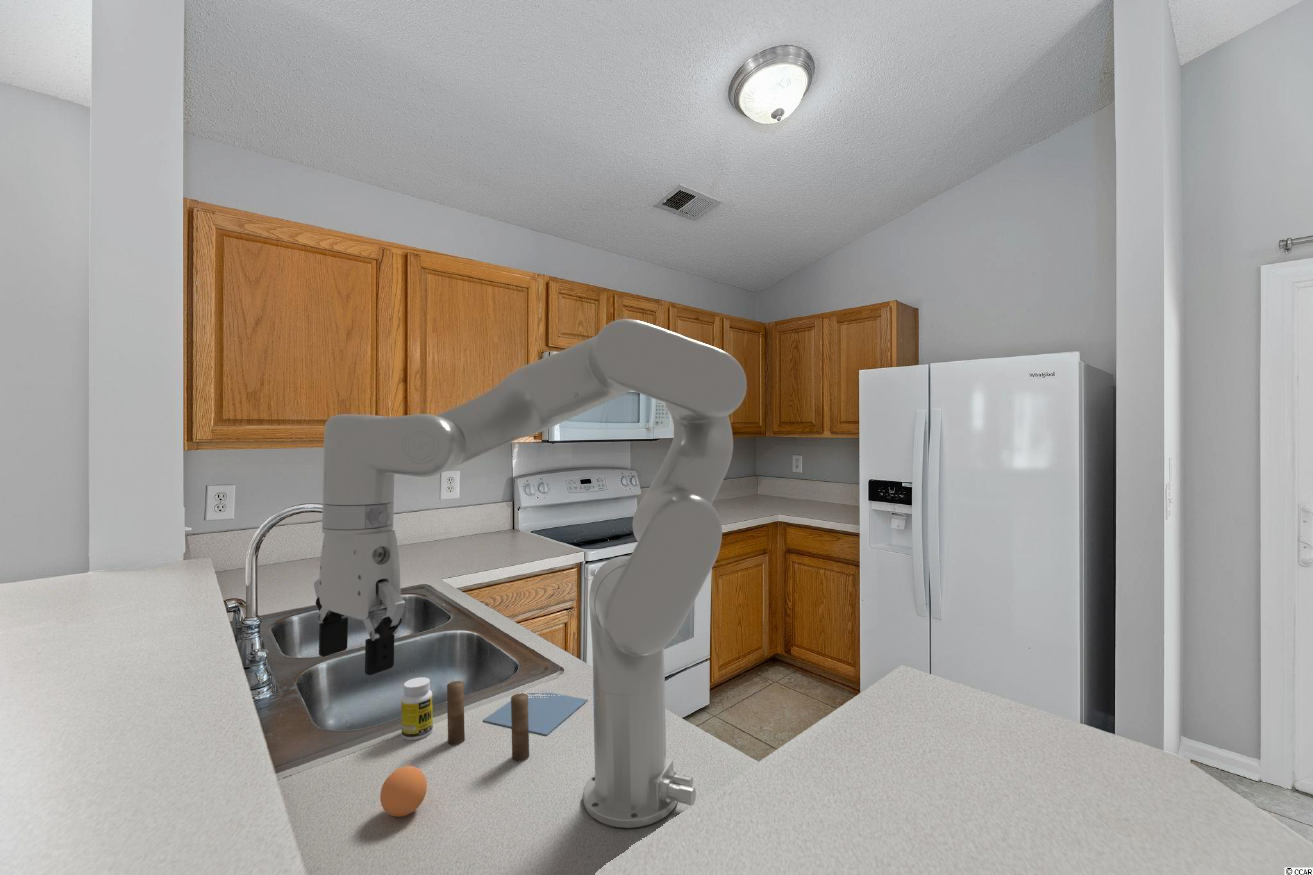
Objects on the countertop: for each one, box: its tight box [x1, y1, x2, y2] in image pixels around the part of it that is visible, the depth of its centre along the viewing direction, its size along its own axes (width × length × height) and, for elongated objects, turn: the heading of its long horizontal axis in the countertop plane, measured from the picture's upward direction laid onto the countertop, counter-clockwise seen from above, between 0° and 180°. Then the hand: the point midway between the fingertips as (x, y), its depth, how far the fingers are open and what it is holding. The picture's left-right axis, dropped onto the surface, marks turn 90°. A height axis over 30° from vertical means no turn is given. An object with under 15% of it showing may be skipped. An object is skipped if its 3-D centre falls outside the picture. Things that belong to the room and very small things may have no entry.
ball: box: [379, 765, 428, 818], centre depth 72 cm, size 6×6×6 cm
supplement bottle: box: [400, 676, 434, 741], centre depth 92 cm, size 5×5×8 cm
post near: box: [510, 692, 530, 763], centre depth 85 cm, size 2×2×9 cm
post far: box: [446, 680, 466, 746], centre depth 89 cm, size 2×2×9 cm
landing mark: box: [482, 690, 589, 736], centre depth 99 cm, size 13×13×1 cm
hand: (355, 661), depth 67 cm, fingers open, 9 cm apart
